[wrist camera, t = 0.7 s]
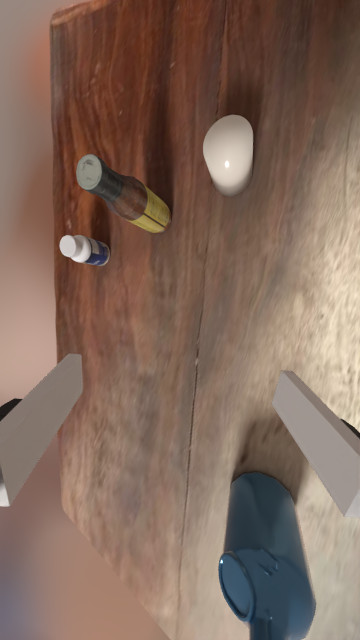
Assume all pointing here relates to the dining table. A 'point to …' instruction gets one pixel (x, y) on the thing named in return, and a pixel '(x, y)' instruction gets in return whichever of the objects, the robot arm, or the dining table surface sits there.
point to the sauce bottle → (123, 195)
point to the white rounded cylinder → (230, 154)
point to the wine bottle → (266, 561)
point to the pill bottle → (85, 250)
